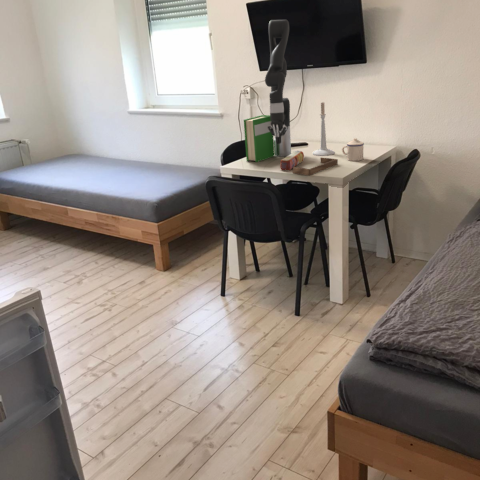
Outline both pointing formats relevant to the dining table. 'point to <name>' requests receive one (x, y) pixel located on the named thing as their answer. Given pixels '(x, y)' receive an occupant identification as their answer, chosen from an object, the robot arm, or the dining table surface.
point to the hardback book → (258, 138)
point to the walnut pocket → (317, 167)
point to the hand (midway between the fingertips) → (278, 143)
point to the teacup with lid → (354, 150)
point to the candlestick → (323, 137)
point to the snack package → (292, 160)
